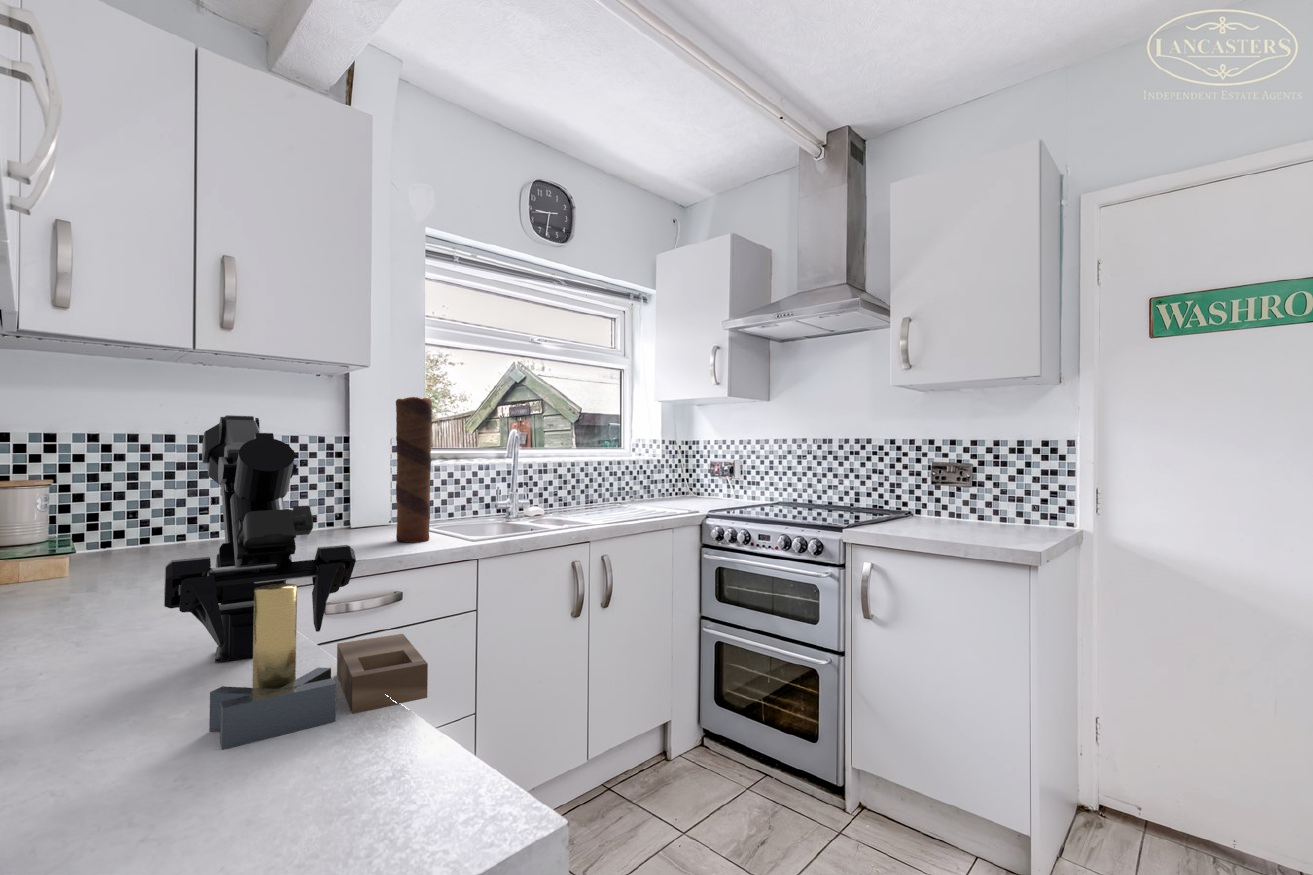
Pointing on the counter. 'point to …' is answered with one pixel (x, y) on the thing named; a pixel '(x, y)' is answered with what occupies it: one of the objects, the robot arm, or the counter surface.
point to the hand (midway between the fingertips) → (272, 637)
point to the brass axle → (274, 635)
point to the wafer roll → (413, 468)
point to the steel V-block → (272, 709)
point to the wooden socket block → (381, 672)
